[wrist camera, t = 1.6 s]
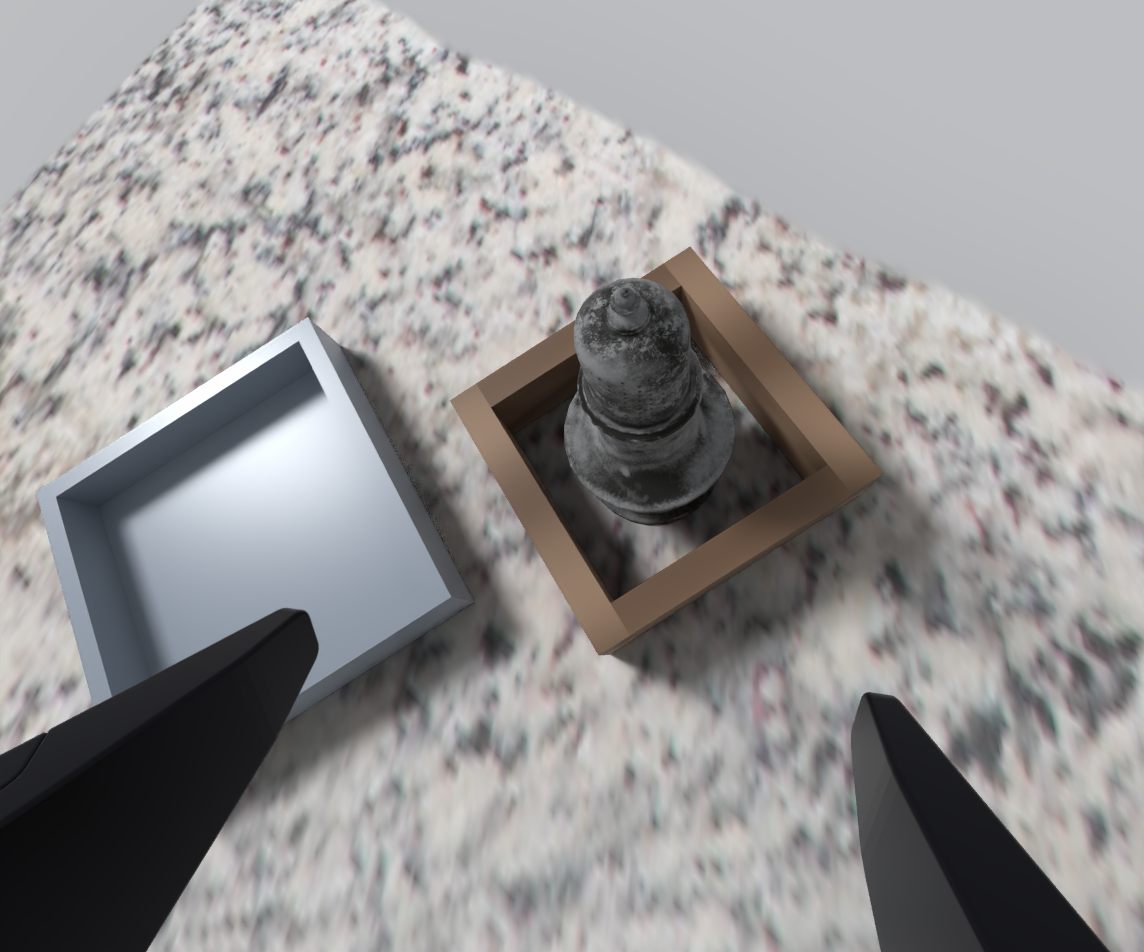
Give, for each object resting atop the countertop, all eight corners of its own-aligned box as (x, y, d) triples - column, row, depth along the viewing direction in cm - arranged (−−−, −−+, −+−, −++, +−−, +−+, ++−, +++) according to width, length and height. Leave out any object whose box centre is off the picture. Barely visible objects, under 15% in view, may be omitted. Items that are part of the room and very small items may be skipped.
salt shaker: (659, 365, 25) (638, 130, 14) (760, 464, 23) (833, 288, 12) (551, 454, 25) (439, 291, 13) (644, 563, 23) (605, 479, 12)
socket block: (857, 496, 22) (883, 473, 19) (609, 654, 22) (598, 655, 19) (689, 290, 26) (690, 246, 23) (475, 428, 26) (449, 400, 23)
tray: (474, 602, 24) (451, 596, 21) (176, 792, 24) (120, 808, 21) (339, 344, 28) (307, 317, 26) (90, 505, 28) (35, 491, 26)
